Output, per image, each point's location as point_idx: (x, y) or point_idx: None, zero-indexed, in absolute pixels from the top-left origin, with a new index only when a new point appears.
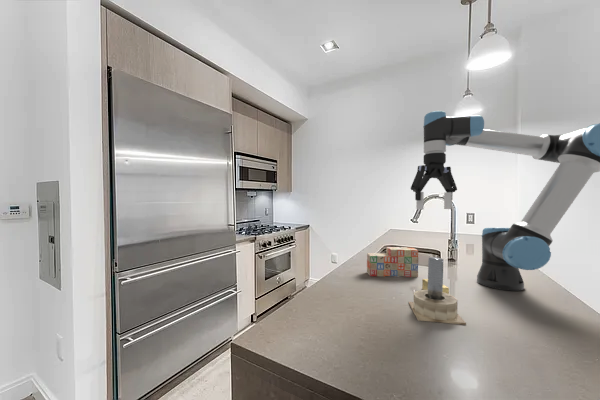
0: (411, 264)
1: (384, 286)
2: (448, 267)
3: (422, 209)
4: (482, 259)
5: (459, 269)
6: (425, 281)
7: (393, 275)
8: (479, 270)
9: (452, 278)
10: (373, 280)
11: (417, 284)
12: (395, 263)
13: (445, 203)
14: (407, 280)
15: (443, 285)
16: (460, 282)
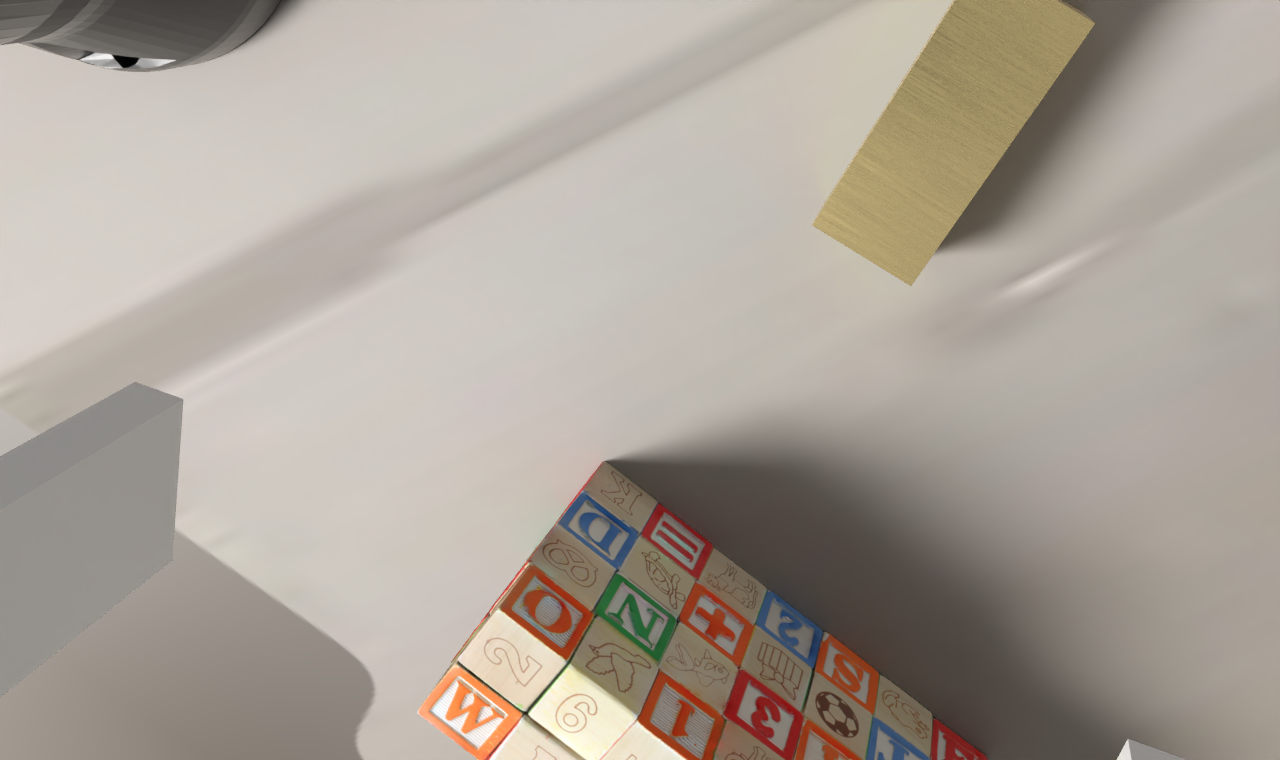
0: (619, 565)
1: (1173, 516)
2: None
3: (1167, 754)
4: (55, 18)
5: (28, 332)
6: (947, 231)
7: (795, 619)
8: (154, 38)
9: (352, 237)
10: (1086, 672)
11: (829, 351)
12: (760, 680)
13: (69, 607)
14: (794, 471)
15: (949, 32)
16: (403, 130)
